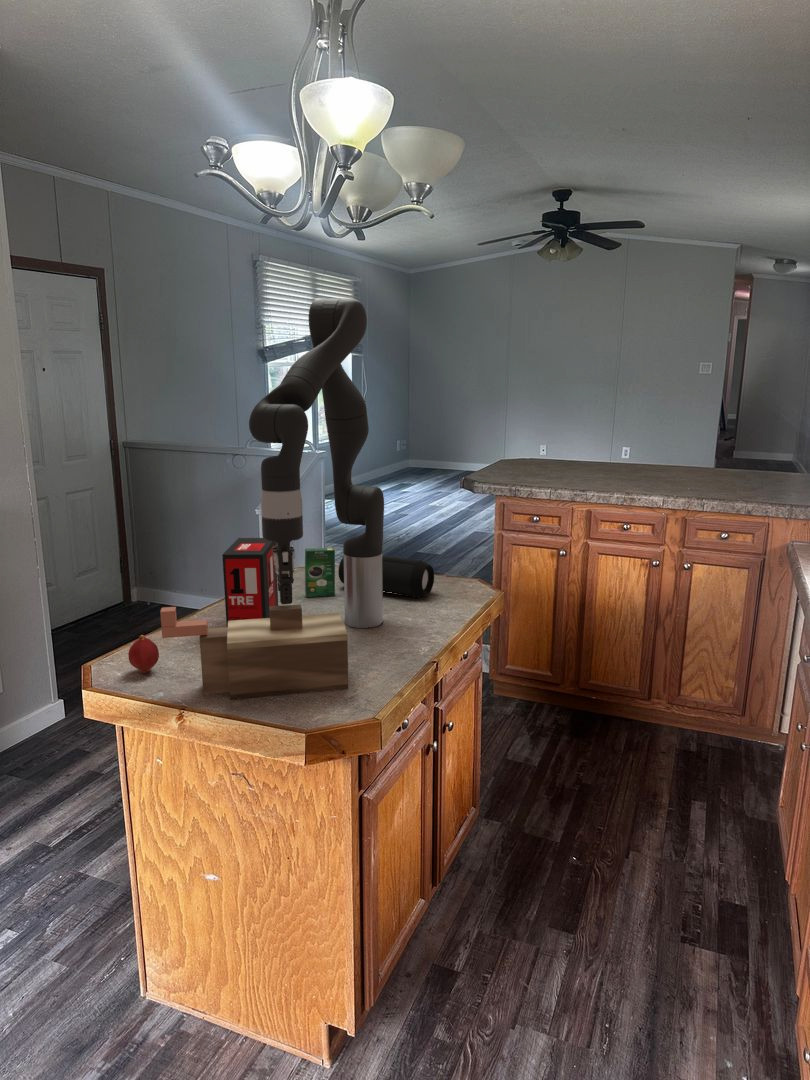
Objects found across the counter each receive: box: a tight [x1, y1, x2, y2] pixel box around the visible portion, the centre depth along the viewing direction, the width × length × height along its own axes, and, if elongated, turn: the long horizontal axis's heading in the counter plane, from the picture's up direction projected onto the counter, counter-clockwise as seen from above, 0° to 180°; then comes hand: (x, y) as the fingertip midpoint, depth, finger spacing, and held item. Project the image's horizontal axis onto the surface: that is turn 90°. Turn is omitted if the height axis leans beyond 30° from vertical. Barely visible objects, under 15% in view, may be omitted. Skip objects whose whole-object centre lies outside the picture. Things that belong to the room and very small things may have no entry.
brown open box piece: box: [199, 626, 349, 701], centre depth 141 cm, size 12×27×11 cm, turn 102°
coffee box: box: [304, 547, 336, 598], centre depth 196 cm, size 8×3×13 cm, turn 102°
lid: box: [227, 604, 349, 650], centre depth 140 cm, size 13×22×6 cm, turn 102°
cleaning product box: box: [222, 537, 279, 627], centre depth 171 cm, size 16×9×20 cm, turn 0°
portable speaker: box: [337, 555, 435, 598], centre depth 200 cm, size 26×10×10 cm, turn 64°
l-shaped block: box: [159, 606, 209, 639], centre depth 136 cm, size 3×8×5 cm, turn 102°
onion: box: [128, 634, 160, 674], centre depth 147 cm, size 6×6×8 cm
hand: (285, 597), depth 139 cm, fingers open, 8 cm apart
